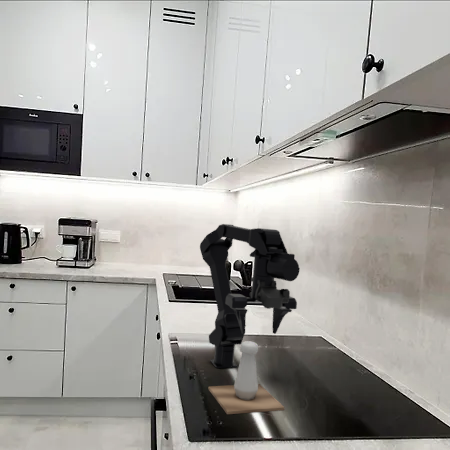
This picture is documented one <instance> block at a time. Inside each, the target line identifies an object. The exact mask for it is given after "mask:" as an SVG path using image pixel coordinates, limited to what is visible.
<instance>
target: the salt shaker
mask: <svg viewBox="0 0 450 450" xmlns="http://www.w3.org/2000/svg"><path fill="white" fill-rule="evenodd" d="M239 350H240V352H241V355H240V356H241V357H240V361H239V365H238V367H237V372H236V377H235V381H234V384H233V385H234V389H235V392H236V396H237V397H239V398H240V399H244V400H250V399H253V398H254V396H255V395H256V393H257V390H258V384H259V382H258V372H257V371H258V370H257V362H256V354H258V353H259V345H258V344H257V343H256V342H254V341H250V340H246V341H242V343H241V344H240V347H239Z"/></svg>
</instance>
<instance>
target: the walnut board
mask: <svg viewBox="0 0 450 450" xmlns="http://www.w3.org/2000/svg"><path fill="white" fill-rule="evenodd" d="M207 389H208V391H209V392H210V393H211V395H212V396H213V397H214V399H215V400H216V402H217V403H218V404H219V405H220V407H221V408H222V409H223V411H224V412H225V413H226V415H233V414H235V415H236V414H238V415H239V414H248V413H251V414H252V413H260V412H261V413H262V412H263V413H264V412H276V411H285V406H284V405H282V403H280V401H278V400H277V399H276V398H275V397H274V396H273V395H272V394H271V393H270V392H269V391H268V390H266V388H264V387H263V386H262V385H261V384H260V383H258V390H257V393H256V395H255V396H254V398H253V399H250V400H244V399H240V398H239V397H237V396H236V392H235V389H234V384H233V385H217V386H216V385H213V386H208V388H207Z"/></svg>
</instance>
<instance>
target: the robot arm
mask: <svg viewBox="0 0 450 450" xmlns="http://www.w3.org/2000/svg"><path fill="white" fill-rule="evenodd" d="M233 240H236V241H240V242H244V243H247V244H248V246H249V247H251V248H253V249H254V250H253V251H252V252H251V253H250V254H249V257H252V258H254V261H253V273H252V277H250V282H251V283H252V285H251V292H249V297H247V296H245V295H243V294H240V293H232V290H231V286H230V285H231V284H230V280H229V274H228V270H227V264H226V262H227V260H228V257H229V250H230V249H231V247H232V246H233ZM199 249H200V254H201V257H202V260H203V261H204V262H205V263H206V265H207V266H208V267H209V270H210V271H209V272H210V275H211V280H212V286H213V293H214V296H215V297H214V299H215V301H216V306H217V315H216V318H215V321H214V327H215V328H214V329H213V330H212V331H211V333H209V335H208V341H209V344H211V345H213V346H215V348H214V358H211V359H210V360H209V361H210V362H211V364H212V365H213V366H214V367H215V368H217V369H226V368H238V365H237V364H236V363H235V361H234V360H235V359H234V358H235V348H236V347H235V346H236V345H241V343H242V342H243V339H244V337H245V334H246V326H247V325H246V319H247V318H246V317H247V316H246V314H247V312H248V309H246V308H247V306H249V305H250V306H255V305H256V306H263V307H264V308H265V309H272V312H273V313H272V327H271V328H272V334H274V335H275V334H277V332H278V330H279V327H280V326H281V324H282V321H283V319H284V318H285V316H286V315H287V314H288V313H292V312H293V310H297V308H298V307H297V305H298V302H297V300H296V298H295V297H293V296H291V295H290V293H291V292H290V290H289V289H288V288H281V289H278V288H277V281H276V280H275V279H278V280H283V281H288V282H293V281H294V280H296V279H297V278H298V276H299V274H300V266H299V263H298V261H297V260H296V259H295V254H294V253H288V251H287V248H286V246H285V243H284V241H283V238H282V236H281V233H280V231H279V230H277V229H270V228H247V227H241V226H236V225H234V224H227V223H221V224H219V225H218V226H217V228H216V229H214V230H212V231H211V232H210V233H207V234H206V236H205V237H204V238H203V240H202V241H200V245H199Z"/></svg>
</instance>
